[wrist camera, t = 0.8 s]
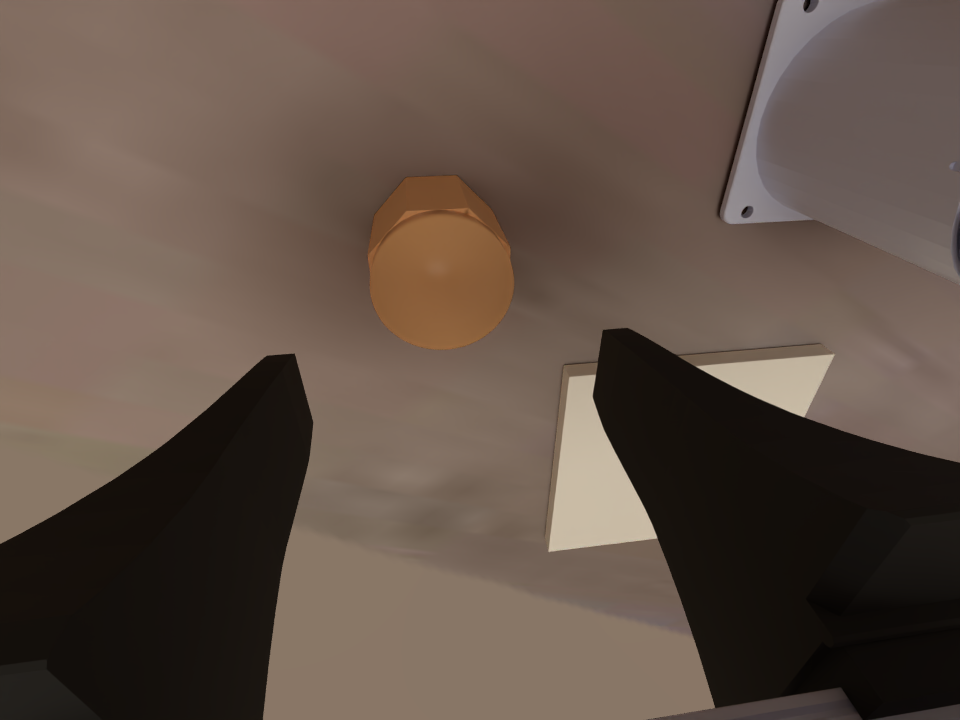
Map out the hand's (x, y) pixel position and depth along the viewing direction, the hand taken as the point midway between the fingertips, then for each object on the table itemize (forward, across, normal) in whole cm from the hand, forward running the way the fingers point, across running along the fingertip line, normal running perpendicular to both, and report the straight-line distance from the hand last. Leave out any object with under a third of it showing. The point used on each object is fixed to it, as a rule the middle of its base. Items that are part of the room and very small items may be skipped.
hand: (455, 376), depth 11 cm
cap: (+10, 0, 0) cm, 10 cm away
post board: (+10, -13, +14) cm, 21 cm away
